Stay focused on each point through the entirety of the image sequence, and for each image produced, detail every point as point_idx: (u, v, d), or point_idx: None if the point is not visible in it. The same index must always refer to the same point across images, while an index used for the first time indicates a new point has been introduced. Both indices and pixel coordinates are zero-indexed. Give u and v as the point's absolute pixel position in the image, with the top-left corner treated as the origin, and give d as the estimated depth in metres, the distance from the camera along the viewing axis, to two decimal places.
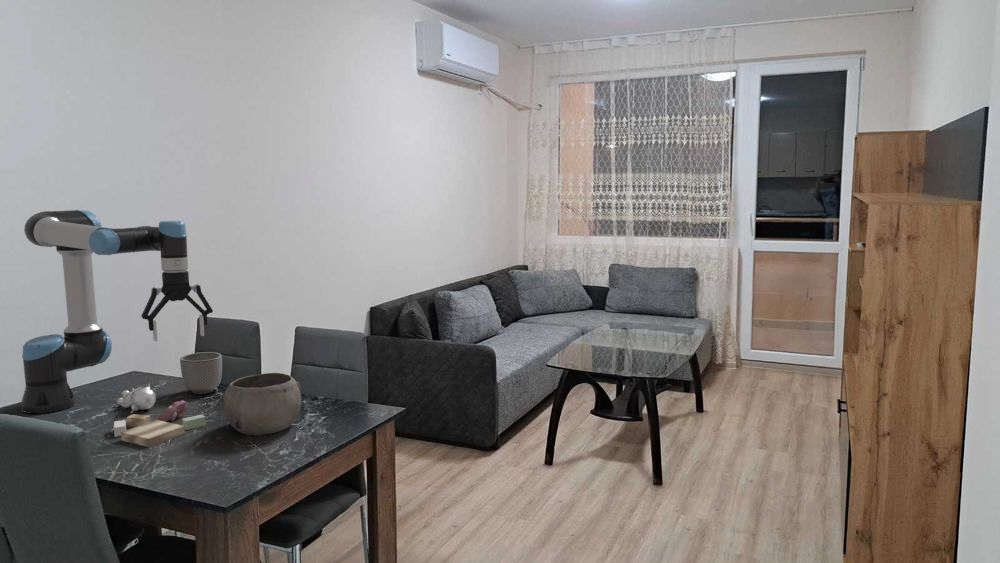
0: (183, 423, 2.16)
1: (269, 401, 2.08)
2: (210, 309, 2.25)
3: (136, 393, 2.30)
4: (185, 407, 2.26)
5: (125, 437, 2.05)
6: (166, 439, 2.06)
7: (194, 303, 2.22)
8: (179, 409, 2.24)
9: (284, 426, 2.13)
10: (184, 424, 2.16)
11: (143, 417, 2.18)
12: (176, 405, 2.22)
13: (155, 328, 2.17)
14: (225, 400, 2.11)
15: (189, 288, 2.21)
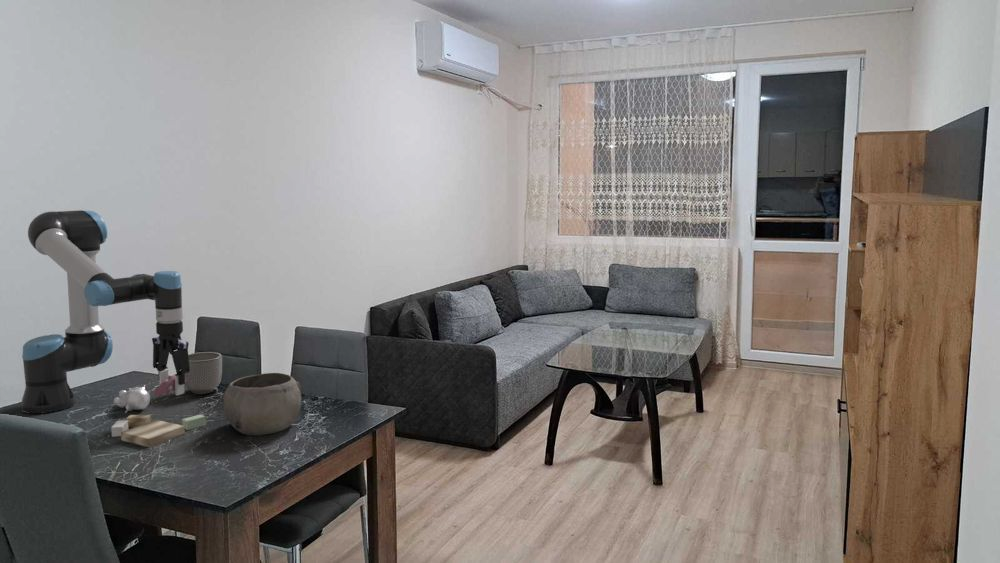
0: (183, 423, 2.16)
1: (269, 401, 2.08)
2: (182, 370, 2.19)
3: (130, 393, 2.30)
4: None
5: (125, 437, 2.05)
6: (166, 439, 2.06)
7: (174, 359, 2.20)
8: None
9: (284, 426, 2.13)
10: (185, 424, 2.16)
11: (144, 416, 2.18)
12: (172, 378, 2.21)
13: (160, 379, 2.24)
14: (225, 400, 2.11)
15: (175, 341, 2.19)
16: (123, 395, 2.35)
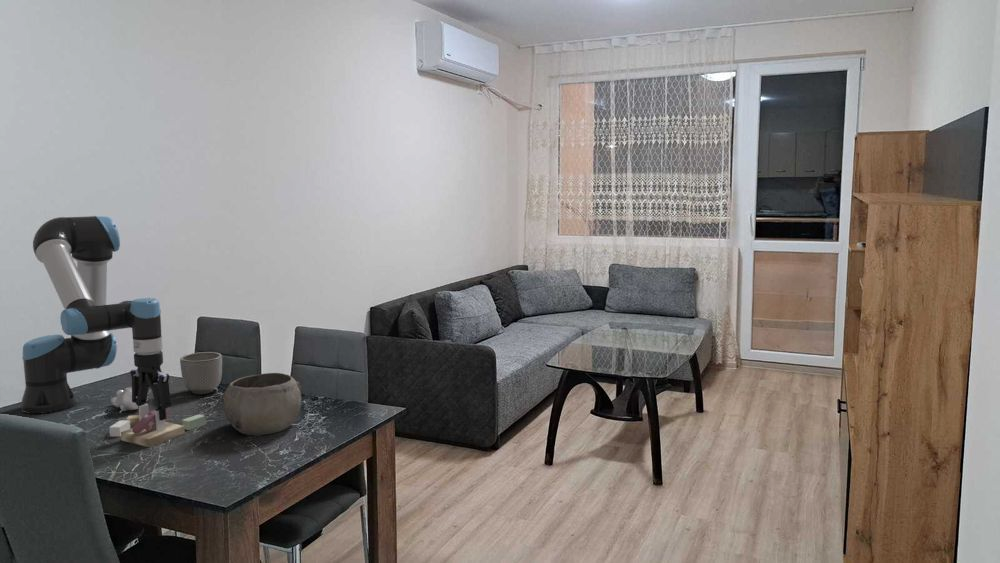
0: (184, 424, 2.16)
1: (269, 401, 2.08)
2: (162, 405, 2.04)
3: (124, 393, 2.30)
4: None
5: (125, 437, 2.05)
6: (166, 439, 2.06)
7: (154, 392, 2.05)
8: None
9: (284, 426, 2.13)
10: (186, 424, 2.15)
11: None
12: (152, 414, 2.05)
13: (139, 414, 2.08)
14: (225, 400, 2.11)
15: (154, 374, 2.04)
16: (119, 395, 2.35)
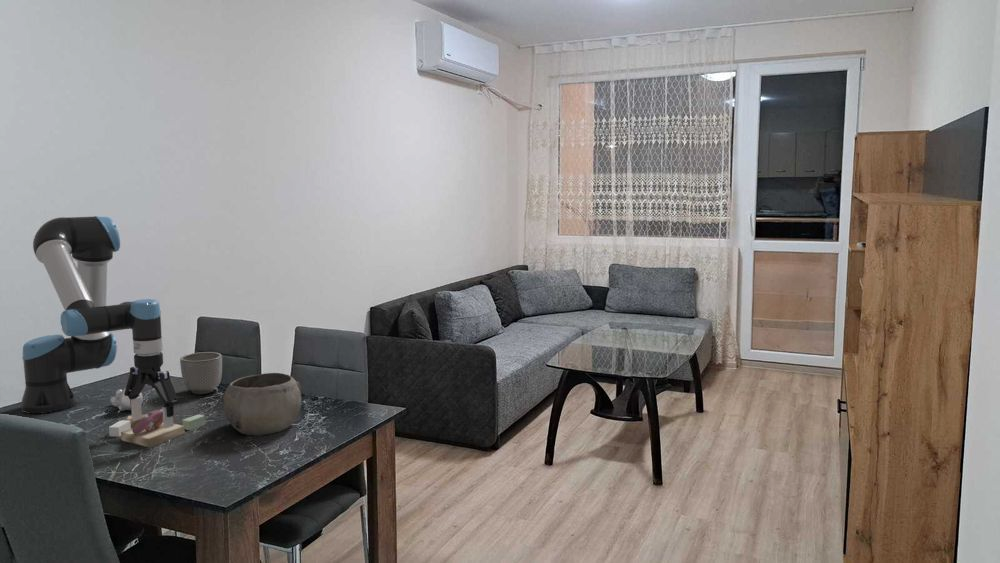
0: (184, 424, 2.16)
1: (269, 401, 2.08)
2: (169, 401, 2.02)
3: (122, 393, 2.30)
4: None
5: (125, 437, 2.05)
6: (166, 439, 2.06)
7: (158, 391, 2.04)
8: (156, 419, 2.07)
9: (284, 426, 2.13)
10: (186, 424, 2.15)
11: None
12: (152, 414, 2.05)
13: (132, 408, 2.10)
14: (225, 400, 2.11)
15: (154, 374, 2.04)
16: (118, 395, 2.35)
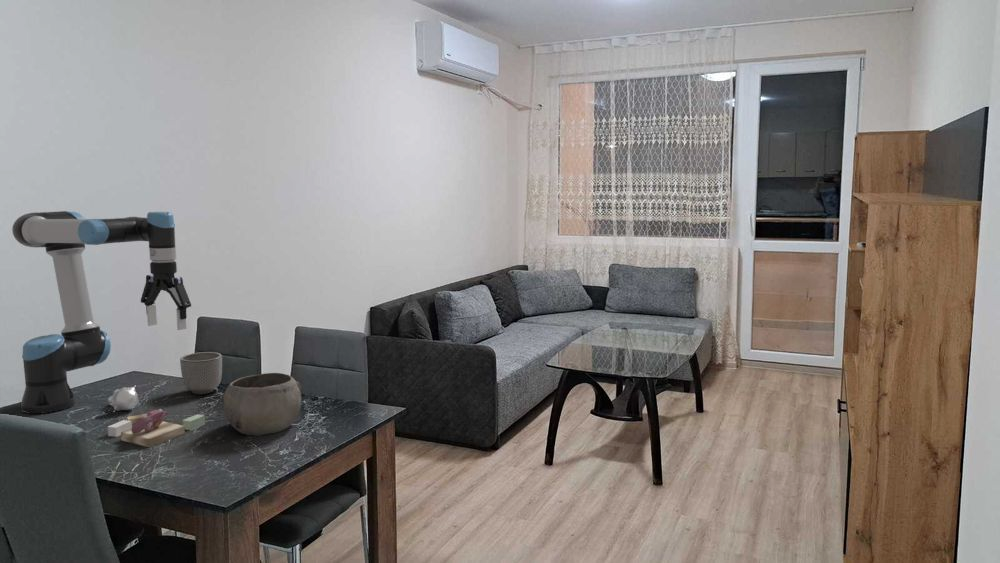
0: (185, 424, 2.16)
1: (269, 401, 2.08)
2: (183, 304, 2.19)
3: (117, 393, 2.30)
4: (162, 416, 2.09)
5: (125, 437, 2.05)
6: (166, 439, 2.06)
7: (172, 295, 2.21)
8: (155, 419, 2.07)
9: (284, 426, 2.13)
10: (187, 425, 2.15)
11: None
12: (151, 414, 2.05)
13: (148, 313, 2.27)
14: (225, 400, 2.11)
15: (169, 280, 2.21)
16: (115, 394, 2.35)
